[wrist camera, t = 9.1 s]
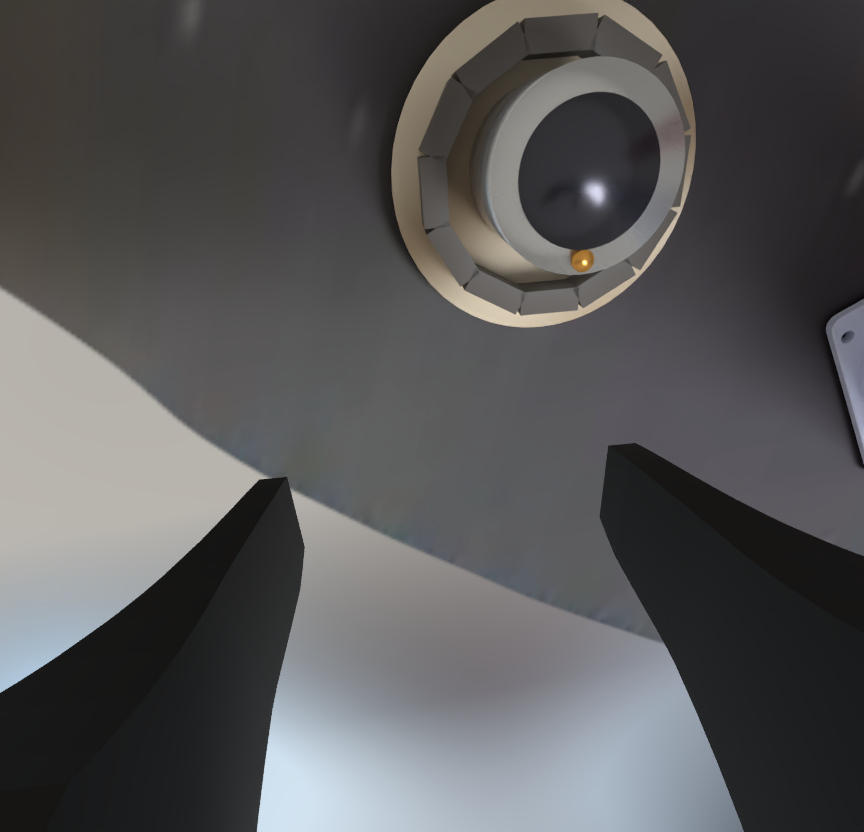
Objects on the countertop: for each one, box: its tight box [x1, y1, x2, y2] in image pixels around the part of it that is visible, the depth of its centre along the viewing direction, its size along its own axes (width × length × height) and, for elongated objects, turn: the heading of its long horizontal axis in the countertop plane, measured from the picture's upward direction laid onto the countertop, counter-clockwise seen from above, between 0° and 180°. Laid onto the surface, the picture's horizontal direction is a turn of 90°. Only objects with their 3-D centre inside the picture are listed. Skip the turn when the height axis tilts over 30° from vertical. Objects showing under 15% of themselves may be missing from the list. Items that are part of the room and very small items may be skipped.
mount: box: [391, 0, 696, 327], centre depth 16 cm, size 10×10×2 cm
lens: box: [469, 56, 685, 275], centre depth 15 cm, size 5×5×4 cm
